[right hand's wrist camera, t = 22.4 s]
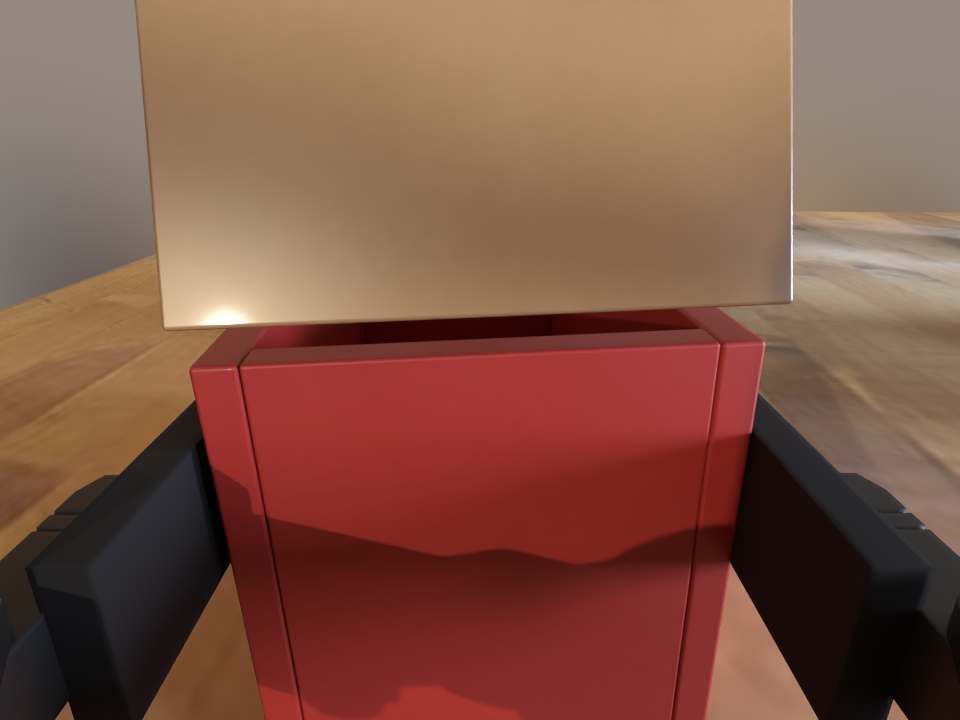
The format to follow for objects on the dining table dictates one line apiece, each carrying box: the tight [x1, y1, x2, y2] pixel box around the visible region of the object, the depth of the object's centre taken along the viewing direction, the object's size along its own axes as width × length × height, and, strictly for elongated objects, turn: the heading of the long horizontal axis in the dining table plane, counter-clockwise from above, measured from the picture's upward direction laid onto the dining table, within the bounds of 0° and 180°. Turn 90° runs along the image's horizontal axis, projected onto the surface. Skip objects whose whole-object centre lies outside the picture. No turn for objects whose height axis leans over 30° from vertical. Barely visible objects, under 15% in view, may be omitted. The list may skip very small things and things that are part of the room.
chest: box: [189, 307, 766, 720], centre depth 19 cm, size 16×9×9 cm, turn 4°
